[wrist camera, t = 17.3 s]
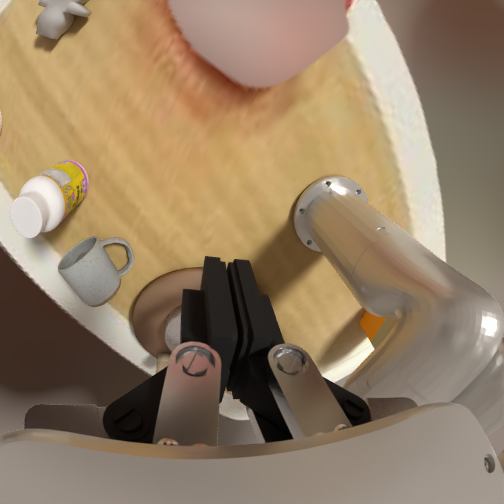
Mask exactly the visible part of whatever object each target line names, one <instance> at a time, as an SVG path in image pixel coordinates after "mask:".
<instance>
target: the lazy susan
mask: <svg viewBox="0 0 504 504" xmlns="http://www.w3.org/2000/svg"><path fill="white" fill-rule="evenodd" d="M202 273H203V267H196V268H186V269H181V270H177V271H173V272H170V273H168V274H165V275H163V276H161V277H159V278H158V279H156V280H155V281H153V282H152V283H151V284H149V285H148V286H147V287H146V288H145V289H144V290H143V292H142V293H141V294H140V296H139V298H138V300H137V302H136V305H135V309H134V314H133V328H134V332H135V334H136V337H137V339H138V340H139V342H140V343H141V345H142V346H143V347H144V348H145V349H146V350H147V351H148V352H149V353H150V354H152V355H153V356H154V357H156V358H157V370H156V373H158V372H159V371H161V370H162V369H164V368H165V367H167V366H168V364H169V359H170V355H171V353H172V351H171V350H170V349H169V348H168V346H167V344H166V342H165V328H166V320H167V317H168V315H169V314H170V312H171V311H172V310H173V309H174V308H176V307H177V306H179V305H181V304H182V293H183V289H194V290H200V287H201V280H202ZM259 293H260V291H259ZM260 294H261V293H260Z"/></svg>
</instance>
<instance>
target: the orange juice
mask: <svg viewBox="0 0 504 504" xmlns="http://www.w3.org/2000/svg"><path fill="white" fill-rule="evenodd" d="M397 320H398V319H394V318H384V317H379V316H376V315H373V314H371V313H369V312H368V311H366V312H365V314H364V315H363V317H362V319H361V320H360V322H359V324H360V325H361V327H362V329H363V330H364V332H365V333H366V335H367V337H368V338H369V340H370V341H371V344H372V345H373V347H374V349H376V348H377V346H378V345H379V344H380V343H381V342H382V341H383V340H384V339H385V338H386V337H387V335H388V333H389V332H390V331H391V330H392V329H393V327H394V326H395V324H396V323H397Z"/></svg>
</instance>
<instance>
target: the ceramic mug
mask: <svg viewBox="0 0 504 504" xmlns="http://www.w3.org/2000/svg"><path fill="white" fill-rule="evenodd" d="M111 243H120V244H124V245H125V247H126V250H127V252H128V257H129V261H128V264H127V265H126V266H125V267H124V268H123V269H121V270H120V271H117V269H116V267H115V266H114V264H113V263H112V261H111V260H110V258H109V256H108V254H107V252H106V250H105V248H104V247H103V246H105V245H107V244H111ZM133 260H134V255H133V251H132V249H131V247H130V245H129V244H128V242H127V241H125V240H124V239H122V238H118V237H113V238H108V239H105V240H103V241H100V240H99V238H98V237H94V236H93V237H90V238H87V239H85V240H83V241H81V242H79V243H78V244H76V245H75V246H74V247H73V248H71V249H70V250H69V251H68V252H67V253H66V254H65V255H64V257H63V258H62V260H61V261H60V263H59V266H58V271H59V273H60V274H61V275H62V276H63V277H64V279H65V280H66V281H67V282H68V284H69V285H70V286H71V287H72V288H73V290H74V291H75V292H76V293H77V294H78V295H79V297H80V298H81V299H82V300H83V301H84V302H85V303H87V304H88V305H89V306H92V307H97V306H101V305H103V304H105V303H107V302H108V301H109V300H111V299H112V298H113V297H114V296H115V294H116V293H117V292H118V290H119V288H120V284H121V279H120V277H121V276H123V275H124V274H126V273H127V272H128V271H129V270H130V268H131V267H132V264H133Z"/></svg>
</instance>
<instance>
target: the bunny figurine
mask: <svg viewBox="0 0 504 504" xmlns="http://www.w3.org/2000/svg"><path fill="white" fill-rule="evenodd" d="M87 1H89V0H40V1H39V4H38V5H40V6H43V7H46V9H45V10H44V11H43V12H42V13H41V14H40V16H39V17H38V21H37V32H36V34H38V35H42V36H45V37H48V38H51V39H59V37H60V36H61V35H62V34H63V33H65V32H66V31H67V30H68V29H69V28H70V27H71V25H72V23H73V21H74V16H75V15H78V16H83V17H89V15H90V14H91V12H90V11H89V10H88V9H87V8H86V7H85V6H83V5H84V4H85V3H86V2H87Z"/></svg>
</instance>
